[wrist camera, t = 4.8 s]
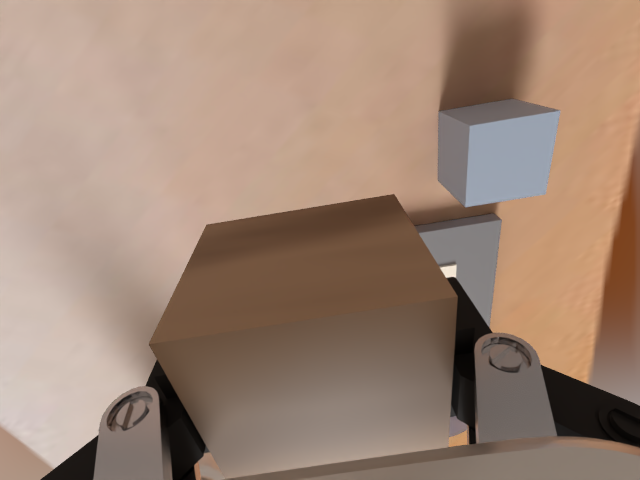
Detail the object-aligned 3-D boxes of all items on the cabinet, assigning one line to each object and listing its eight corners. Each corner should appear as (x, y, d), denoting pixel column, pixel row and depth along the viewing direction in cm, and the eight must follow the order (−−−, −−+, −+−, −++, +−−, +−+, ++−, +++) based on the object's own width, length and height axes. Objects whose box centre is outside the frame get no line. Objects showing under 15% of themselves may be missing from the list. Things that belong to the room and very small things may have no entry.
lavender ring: (394, 390, 38) (399, 406, 36) (467, 367, 37) (475, 382, 35) (414, 430, 42) (418, 445, 40) (479, 410, 41) (487, 426, 39)
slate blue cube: (438, 110, 24) (469, 125, 19) (511, 98, 24) (560, 110, 19) (437, 180, 26) (465, 207, 22) (504, 169, 26) (545, 194, 22)
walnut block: (206, 224, 11) (148, 344, 7) (394, 194, 11) (457, 296, 7) (253, 354, 14) (233, 494, 10) (400, 331, 14) (447, 463, 10)
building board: (319, 241, 28) (320, 250, 27) (493, 213, 28) (503, 220, 26) (341, 361, 35) (342, 373, 34) (481, 340, 34) (487, 351, 33)
